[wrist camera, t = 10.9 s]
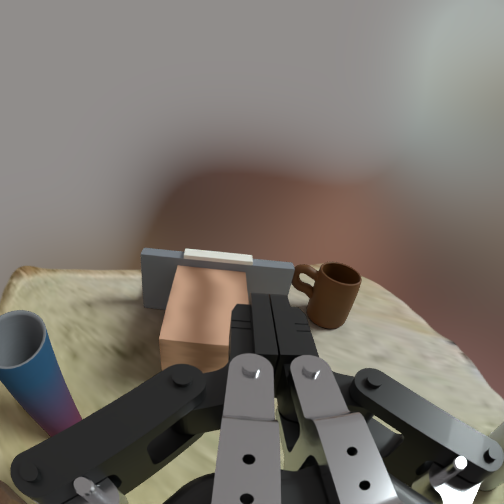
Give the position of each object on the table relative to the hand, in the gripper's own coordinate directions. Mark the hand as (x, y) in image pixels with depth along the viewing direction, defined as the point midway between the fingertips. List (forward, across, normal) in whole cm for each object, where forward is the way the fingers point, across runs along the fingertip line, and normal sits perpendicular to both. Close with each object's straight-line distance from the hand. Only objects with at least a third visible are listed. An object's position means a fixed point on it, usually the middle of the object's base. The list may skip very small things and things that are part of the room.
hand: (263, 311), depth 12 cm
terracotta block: (+20, +4, +22) cm, 30 cm away
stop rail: (+31, +3, +22) cm, 38 cm away
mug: (+31, -15, +22) cm, 41 cm away
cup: (+3, +19, +23) cm, 30 cm away
